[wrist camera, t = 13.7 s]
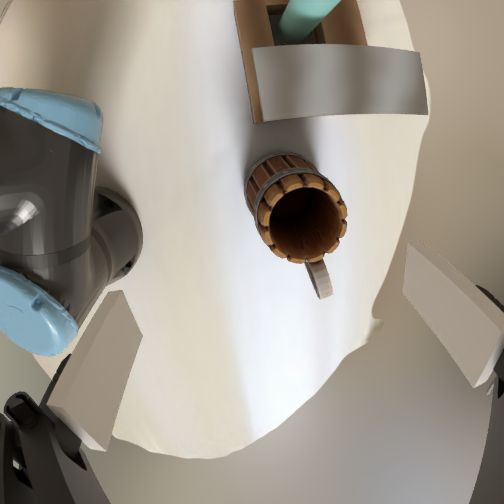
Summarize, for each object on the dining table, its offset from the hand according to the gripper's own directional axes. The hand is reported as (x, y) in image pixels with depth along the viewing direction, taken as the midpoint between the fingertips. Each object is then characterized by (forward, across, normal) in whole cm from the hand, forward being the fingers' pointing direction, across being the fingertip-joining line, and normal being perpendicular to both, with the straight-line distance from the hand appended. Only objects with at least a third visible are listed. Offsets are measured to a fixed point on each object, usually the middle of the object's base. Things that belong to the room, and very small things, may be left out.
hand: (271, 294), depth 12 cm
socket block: (+29, +10, +15) cm, 34 cm away
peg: (+29, +9, +20) cm, 36 cm away
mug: (+29, +5, -5) cm, 30 cm away
